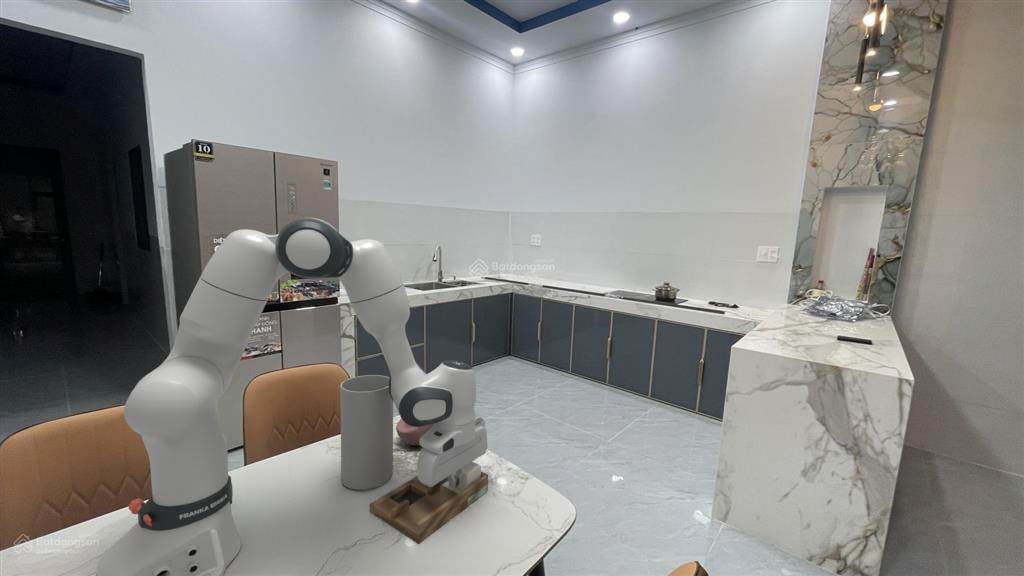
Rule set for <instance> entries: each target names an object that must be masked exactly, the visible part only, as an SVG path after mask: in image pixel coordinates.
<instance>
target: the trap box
mask: <svg viewBox="0 0 1024 576" xmlns="http://www.w3.org/2000/svg"><path fill="white" fill-rule="evenodd" d="M488 488H489V474H488V473H486V472H484V471H481V478H480V479H478V480H477V481H476V482H474V483H473V484H471V485H470V486H468V487H467V488H466V489H464V490H461V489H459V488H458V487H455V488H454V489H453V488H451V487H449V480H448V478H445V479H443V480H442V481H440V482H439V483H437V484H435V485H434V486H432V487H428V486H426V485H424V484H423V483H421V482H420V481H419V479H418V475H417V476H415V477H413V478H411V479H410V480H408V481H406V482H404V483H403V484H401V485H399V486H397V487H396V488H395V489H392V490H390V491H389V492H387V493H385V494H384V495H382V496H380V497H378V498H377V499H375V500H373V501H371V502H370V503H369V513H371V514H372V515H373V516H375V517H376V518H379V520H381V521H383V522H384V523H385V524H387V525H389V526H390V527H392V528H393V529H395V530H397V531H398V532H399V533H400V534H403V535H404V536H406V537H407V538H409V539H410V540H412V541H413V542H415V543H416V544H417V545H419V544H421V543H422V542H423V541H425V540H426V539H427V538H429V537H430V536H431V535H432V534H434V533H435V532H436V531H437V530H439V529H440V528H442V527H443V526H444V525H445V524H447V523H448V522H450V521H451V520H452V519H454V518H455V517H457V515H459V514H460V513H461V512H463V511H465V509H466V508H468V507H469V506H471V505H472V504H473V503H475V502H476V501H478V500H479V499H480V498H481V497H483V496H484V495H485V494H487V492H488Z"/></svg>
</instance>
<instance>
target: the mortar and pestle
mask: <svg viewBox="0 0 1024 576" xmlns="http://www.w3.org/2000/svg"><path fill="white" fill-rule="evenodd" d="M434 424H435V423H434ZM434 424H431V425H427V426H423V427H413V426H410V425H408V424H406V423H405V422H404V421H403V420H402V418H401V417H400V419H399V421H398V422H397V423H396V427H395V429H396V433H397V436H398V437H399V438H400V440H401V441H402V442H403V443H405V444H407V445H410V446H420V443H419V441H420V438H421V437H422V436H423V435H424V434H425V433H426V432H427V431H428V430H429V429H430V428H431V427H432V426H433V425H434Z"/></svg>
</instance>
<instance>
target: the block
mask: <svg viewBox="0 0 1024 576" xmlns="http://www.w3.org/2000/svg"><path fill="white" fill-rule="evenodd" d="M481 472H482V465H480V464H479V463H476V462H474V461H472V462H470V463H469V464H467V465H466V466H465V470H464V472H463V475H462V477H461V484H460V485H458V486H457V487H458V488H459V489H461V490H464V489H466V488H467V487H468V486H470V485H471V484H473V483H474V482H476V481H477V480H478V479H480V478H481Z"/></svg>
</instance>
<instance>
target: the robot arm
mask: <svg viewBox="0 0 1024 576" xmlns="http://www.w3.org/2000/svg"><path fill="white" fill-rule="evenodd" d="M287 273H290V274H292V275H294V276H296V277H298V278H299V277H300V278H302V279H311V280H312V279H313V280H314V279H328V278H329V279H331V278H333V279H334V278H337V279H338V280H339V281H340V282H341V284H342V286H343V288H344V290H345V292H346V295H347V298H348V300H349V303H350V305H351V307H352V310H353V312H354V314H355V315H356V319H358V321H359V323H360V324H361V326H362V327H363V328H364V330H365V331H366V332H367V333H368V334H370V335H372V337H374V338H375V340H376V342H377V343H378V345H379V348H380V349H381V352H382V353H381V354H383V358H384V360H385V362H386V365H387V368H388V373H389V376H388V377H389V394H390V397H391V399H392V400H393V404H394V405H395V408H396V410H397V412H398V414H399V416H400V419H401V418H402V420H403V421H404V422H405V423H406V424H408V425H410V426H413V427H423V426H427V425H431V424H434V423H435V424H434V425H433V426H432V427H431V428H430V429H429V430H428V431H427V432H426V433H425V434H424V435H423V436H422V437H421V438H420V441H419V443H420V445H419V446H420V447H422V448H421V450H420V452H419V454H418V460H417V461H418V462H417V476H418V479H419V481H420V482H421V483H423V484H424V485H426V486H428V487H432V486H434V485H435V484H437V483H439V482H440V481H442V480H443V479H445V478H448V480H449V487H451V488H453V489H454V488H455V487H457V486H458V485H460V484H461V477H462V475H463V472H464V470H465V466H466V465H467V464H469V463H470V462H474V461H476V460H477V459H478V458H480V457H482V456H483V455H485V454H486V452H487V449H488V433H487V429H486V421H485V419H483V418H482V417H478V418H476V412H475V404H476V402H477V380H476V373H475V369H474V368H473V367H472V366H470V365H469V364H468V363H466V362H463V361H461V360H454V359H451V360H450V359H448V360H444V361H443V360H442V362H441V363H440V364H439V365H438V366H437V367H436V368H435V369H433V370H432V371H430V372H429V373H427V372H426V370H424V369H423V368H422V367H421V366H420V365H419V364H418V363H417V362H416V360H415V356H414V354H413V351H412V348H411V346H410V343H409V340H408V337H407V333H406V326H407V325H406V324H407V322H408V321H409V319H410V316H411V310H410V304H409V299H408V294H407V291H406V288H405V284H404V283H403V280H402V277H401V275H400V273H399V270H398V268H397V266H396V264H395V262H394V260H393V258H392V256H391V255H390V253H389V252H388V250H387V248H386V247H385V245H384V244H383V243H381V242H380V241H378V240H376V239H372V238H370V239H369V238H363V239H358V240H353V241H349V240H347V238H345V237H344V236H343V235H342V234H340V233H339V231H338V229H336V227H334V226H333V225H332V224H331V223H329V222H328V221H326V220H324V219H321V218H317V217H302V218H298V219H296V220H292V221H290V222H289V223H287V224H286V225H284V226H283V227H282V228H281V230H280V232H279V233H277V234H267V233H264V232H262V231H258V230H254V229H248V228H247V229H246V228H243V229H238V230H235V231H232V232H230V233H229V234H228V235H227V236H226V237H225V239H224V240H222V243H220V245H218V248H216V250H215V252H213V255H212V256H211V257H210V258H209V261H208V262H207V264H206V266H205V267H204V269H203V271H202V273H201V274H200V277H199V278H198V281H197V283H196V284H195V287H194V289H192V290H193V291H192V292H191V295H190V297H189V298H188V300H187V302H186V304H185V306H184V309H183V311H182V312H181V314H180V317H179V326H178V329H177V334H176V337H175V340H174V343H173V347H172V348H171V350H170V353H169V354H168V356H166V357H167V358H166V359H164V360H163V361H162V363H161V364H160V365H159V366H158V367H156V368H155V369H153V370H152V371H150V372H149V373H147V374H146V375H144V376H143V377H142V378H141V379H139V381H138V382H137V384H136V385H135V386H134V388H132V391H131V392H130V394H129V396H128V398H127V399H126V402H125V405H124V409H123V413H124V418H125V419H124V420H125V421H126V423H127V425H128V426H129V428H130V429H131V430H133V432H135V433H137V434H139V435H140V437H141V438H142V441H143V443H144V446H145V449H146V451H147V454H148V459H149V466H150V478H151V479H150V480H151V490H152V491H151V493H152V495H151V496H150V498H149V499H148V500H147V501H146V502H145V501H144V500H143V499H142V498H135V499H133V500H131V501H130V503H129V504H128V510H129V511H130V513H131V514H133V515H137V520H138V521H137V523H135V525H133V526H132V527H131V528H130V529H129V530H128V531H127V532H125V534H123V536H121V537H120V538H119V539H118V540H117V541H115V542H114V543H113V544H112V545H111V546H110V547H109V548H108V549H107V550H105V551H104V553H103V554H102V555H101V557H100V559H99V562H98V565H97V567H96V572H95V576H224V574H225V572H226V568H227V567H228V566H229V565H230V563H231V562H232V561H233V560H235V558H236V557H237V555H238V554H239V552H240V550H241V547H242V539H241V537H240V535H239V532H238V530H237V527H236V524H235V521H234V515H233V510H232V503H233V496H234V493H233V482H232V477H231V475H229V461H228V460H229V459H228V456H229V455H228V440H227V437H226V435H224V434H223V431H222V429H221V426H220V421H219V416H218V405H219V402H220V398H221V396H222V395H223V394H224V393H225V391H226V390H227V389H228V387H229V386H230V385H231V382H232V380H233V377H234V375H235V373H236V371H237V369H238V366H239V364H240V362H241V359H242V358H243V356H244V355H243V354H244V353H245V349H246V347H247V345H248V342H249V340H250V337H251V336H252V333H253V331H254V329H255V328H256V326H257V323H258V321H259V320H260V317H261V316H262V313H263V311H264V309H265V306H266V304H267V302H268V300H269V299H270V296H271V294H272V293H273V290H274V288H275V286H276V284H277V283H278V281H279V280H280V279H281V278H282V276H284V275H285V274H287Z"/></svg>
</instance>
